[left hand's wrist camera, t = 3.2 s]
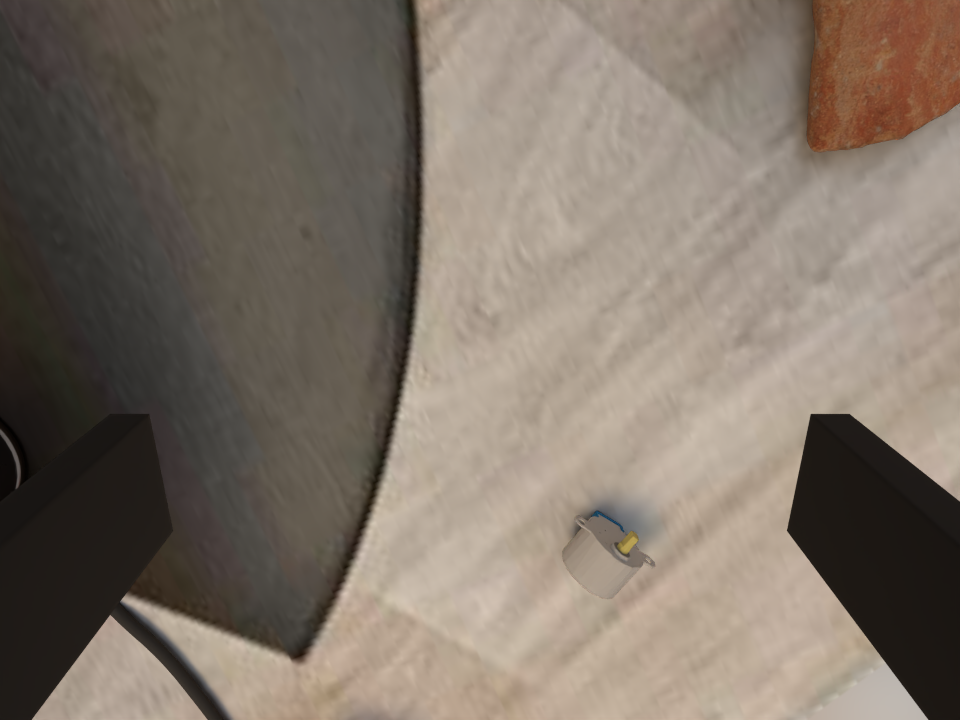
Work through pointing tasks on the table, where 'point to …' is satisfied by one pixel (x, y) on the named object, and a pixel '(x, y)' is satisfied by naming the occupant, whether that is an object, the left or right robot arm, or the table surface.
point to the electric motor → (603, 556)
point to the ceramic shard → (881, 69)
